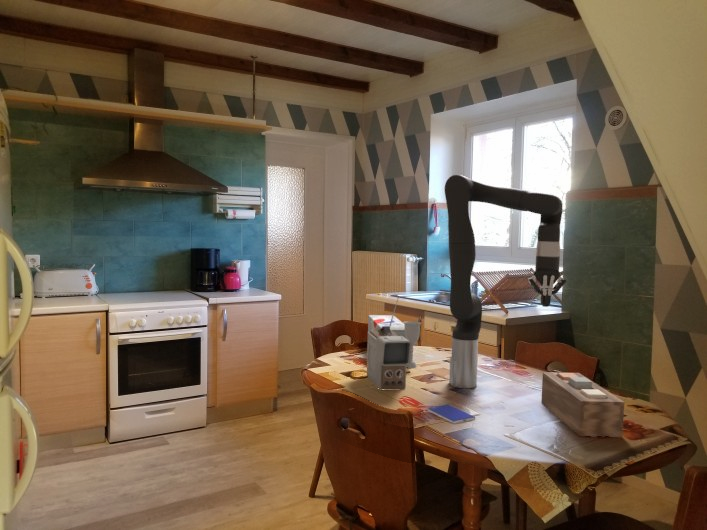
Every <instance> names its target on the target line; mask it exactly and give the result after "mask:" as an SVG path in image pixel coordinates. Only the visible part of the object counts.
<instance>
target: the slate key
mask: <svg viewBox="0 0 707 530" xmlns="http://www.w3.org/2000/svg"><path fill="white" fill-rule="evenodd" d="M587 378H588V377H587V376H585V377H569V385H570V386H571V387H573V388H574V389H592V382H593V381H592V380H591V379H589V378H588V379H587ZM590 380H591V381H590Z"/></svg>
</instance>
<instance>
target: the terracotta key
mask: <svg viewBox="0 0 707 530" xmlns="http://www.w3.org/2000/svg"><path fill="white" fill-rule="evenodd" d="M557 373H558V374H557V376H558V377H559V378H560V379H562V380H569V377H578V376H577V375H575V374H574V373H575V372H557Z"/></svg>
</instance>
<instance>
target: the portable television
mask: <svg viewBox="0 0 707 530" xmlns="http://www.w3.org/2000/svg"><path fill="white" fill-rule="evenodd" d="M396 299H397V300H396V303H395V306H394V309H393V312H392V314H391V315H392V319H393V316H395V311H396V308H397V304H398V301H399V299H400V298H399V297H397V298H396ZM392 319H391V322H390V326H391V323H392ZM390 326H383V327H382V328H381V329H378V331H370V332H368V331H367V341H366V342H367V346H366V347H367V350H366V351H367V352H366V377H367V376H368V377H367V378H368V379H369V381H371V382H373V383H374V384H373V383H372V384H373V385H374V387H375V388H376V389H377V388H379V389H400V390H405V389H406V386H407V368H406V366H407V365H409V363H410V357H411V347H412V343H411V342H410V341H409V340H407V339H406V338H404V337H403V336H400V334H399V335H398V334H396V333H395V332H393V331H392V330H390ZM379 389H378V390H379Z"/></svg>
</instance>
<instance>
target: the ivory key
mask: <svg viewBox="0 0 707 530" xmlns="http://www.w3.org/2000/svg"><path fill="white" fill-rule="evenodd" d="M581 394H582V395H584V396H585V397H587V398H606V394H604V393H603V392H601V391H600V390H598V389H581Z"/></svg>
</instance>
